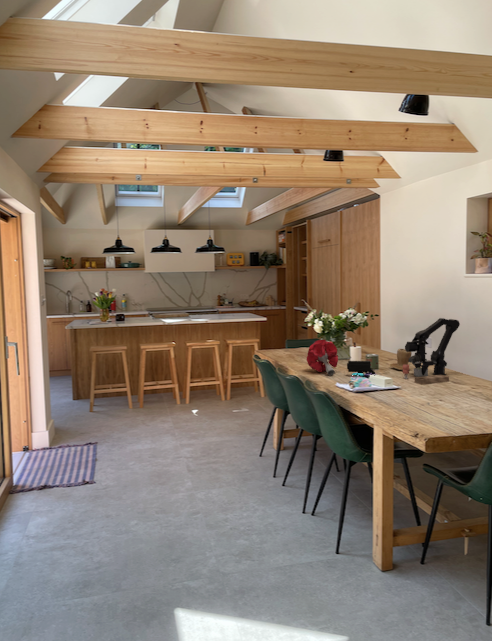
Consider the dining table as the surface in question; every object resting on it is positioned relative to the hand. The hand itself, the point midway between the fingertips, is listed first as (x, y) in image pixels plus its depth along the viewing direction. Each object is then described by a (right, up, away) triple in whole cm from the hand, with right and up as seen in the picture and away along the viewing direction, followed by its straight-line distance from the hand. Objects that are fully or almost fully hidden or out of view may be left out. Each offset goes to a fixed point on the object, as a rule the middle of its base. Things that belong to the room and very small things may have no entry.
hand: (420, 374), depth 339 cm
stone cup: (-5, +1, +25) cm, 25 cm away
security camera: (-39, -2, +4) cm, 39 cm away
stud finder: (0, -1, 0) cm, 1 cm away
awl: (-12, -2, -8) cm, 15 cm away
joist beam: (0, -3, -20) cm, 20 cm away
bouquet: (-62, -1, +19) cm, 65 cm away
